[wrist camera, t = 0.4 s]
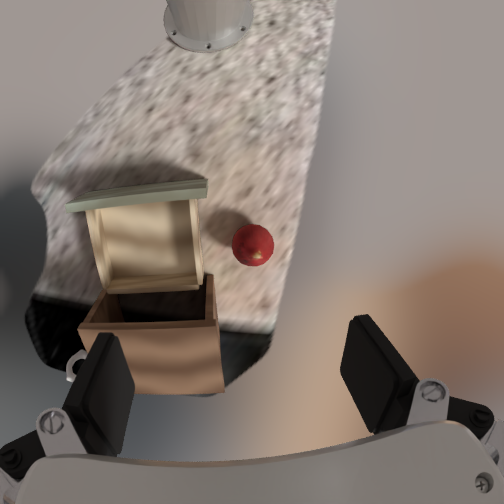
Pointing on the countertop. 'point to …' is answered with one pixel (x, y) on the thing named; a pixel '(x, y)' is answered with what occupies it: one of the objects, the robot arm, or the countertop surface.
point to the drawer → (146, 235)
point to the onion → (252, 245)
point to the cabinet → (163, 347)
